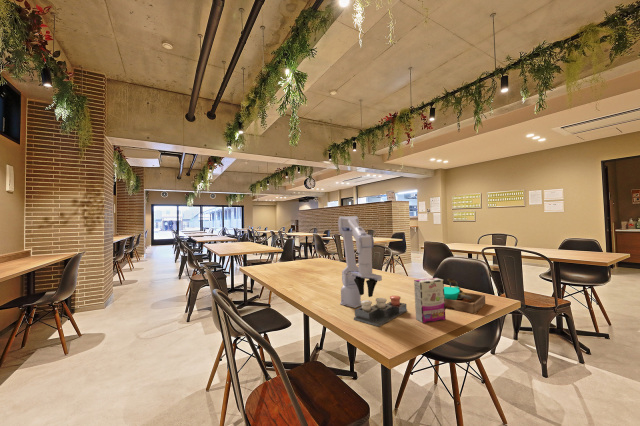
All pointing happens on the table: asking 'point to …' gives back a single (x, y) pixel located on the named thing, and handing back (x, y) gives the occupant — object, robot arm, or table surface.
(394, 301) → the plug red
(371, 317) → the panel
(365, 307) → the cream mushroom knob
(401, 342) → the table surface
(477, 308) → the brown wooden tray
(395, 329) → the table surface
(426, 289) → the candy bar box
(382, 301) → the plug cream mid
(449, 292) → the contraption on wooden base
